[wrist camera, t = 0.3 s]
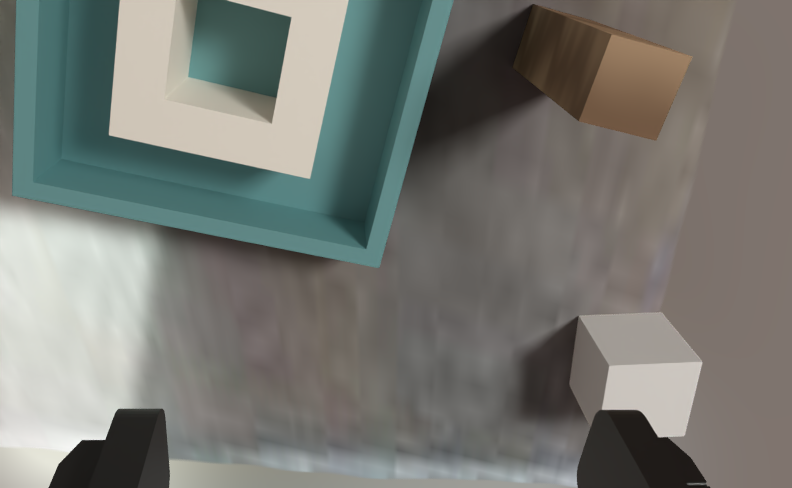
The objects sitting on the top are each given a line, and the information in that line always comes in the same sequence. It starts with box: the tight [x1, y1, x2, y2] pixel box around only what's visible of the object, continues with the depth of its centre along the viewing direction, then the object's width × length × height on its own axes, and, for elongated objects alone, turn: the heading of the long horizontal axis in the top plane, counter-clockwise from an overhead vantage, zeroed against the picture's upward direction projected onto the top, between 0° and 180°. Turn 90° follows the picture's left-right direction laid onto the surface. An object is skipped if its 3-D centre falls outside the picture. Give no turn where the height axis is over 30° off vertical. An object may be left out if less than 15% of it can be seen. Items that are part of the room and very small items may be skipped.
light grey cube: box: [569, 312, 702, 437], centre depth 45 cm, size 6×6×6 cm
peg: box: [512, 4, 692, 140], centre depth 33 cm, size 4×4×12 cm
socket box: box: [12, 0, 453, 268], centre depth 34 cm, size 20×20×6 cm
